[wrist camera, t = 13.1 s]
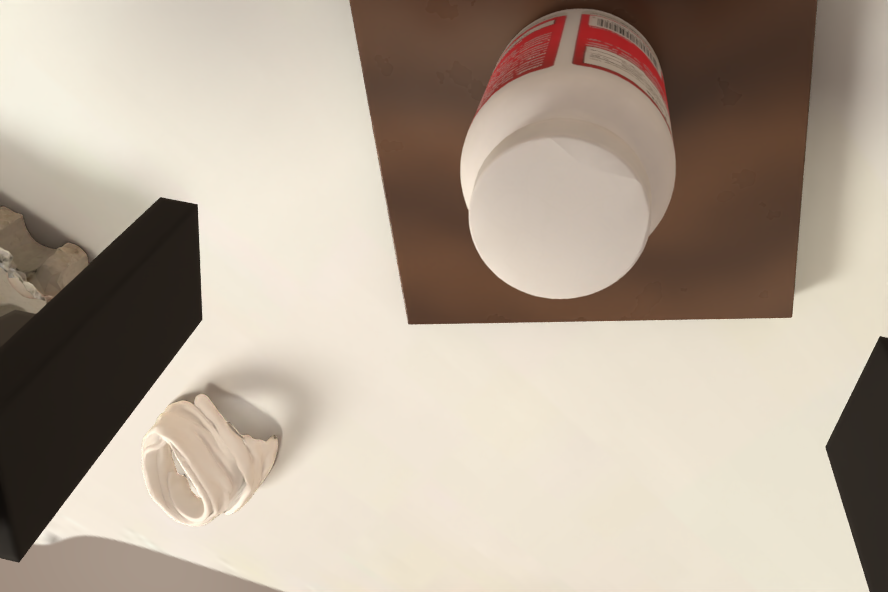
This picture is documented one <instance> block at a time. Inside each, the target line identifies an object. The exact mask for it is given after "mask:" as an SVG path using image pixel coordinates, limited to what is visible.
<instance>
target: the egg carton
mask: <svg viewBox="0 0 888 592" xmlns="http://www.w3.org/2000/svg"><path fill="white" fill-rule="evenodd" d="M88 265H89V262H88V256H87V255H86V253H85V252H84V251H83V250H82V249H81V248H80V247H79V246H77V245H75V244H72V243H66V244H64V246H62V247H58V249H52V248H49V247H46V246H43V245H41V244H39V243H38V242H36V241H35V240H34V239H33V238H32V236H31V235H30V233H29V232H28V231H27V228H26V225H25V222H24V219H23V216H22V214H19V213H15V212H13V211H12V210H10V209H9V208H7V207H5V206H1V207H0V317H1V316H3V315H5V314H7V313H9V312H11V311H13V310H20V311H24V312H29V313H34V314H37V313H38V312H39V311H40V310H41V309H42V308H43V307H44V306H45V305H46V304H47V303H48V302H49V301H50V300H51V299H53V298H54V297H55V296H56V295H57V294H58V293H59V292H60V291H61V290H62V289H63V288H64V287H65V286H66V285H67V284H69V283H70V282H71V281H72V280H73V279H74V278H75V277H76V276H77V275H78V274H79V273H80V272H81V271H82V270H83V269H85V268H86V267H87V266H88Z"/></svg>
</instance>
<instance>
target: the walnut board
mask: <svg viewBox="0 0 888 592" xmlns="http://www.w3.org/2000/svg"><path fill="white" fill-rule="evenodd" d="M350 6H351V11H352V17H353V22H354V28H355V33H356V39H357V44H358V50H359V55H360V61H361V66H362V72H363V77H364V83H365V88H366V94H367V99H368V105H369V110H370V116H371V121H372V127H373V132H374V138H375V143H376V149H377V154H378V160H379V165H380V171H381V176H382V182H383V187H384V193H385V198H386V204H387V210H388V215H389V221H390V226H391V232H392V237H393V243H394V248H395V254H396V259H397V265H398V270H399V276H400V281H401V287H402V292H403V298H404V303H405V309H406V314H407V320H408V324H461V323H518V322H574V321H631V320H688V319H744V318H791V317H792V313H793V300H794V288H795V275H796V263H797V250H798V237H799V225H800V212H801V200H802V187H803V175H804V162H805V150H806V137H807V125H808V112H809V100H810V87H811V75H812V62H813V50H814V37H815V25H816V12H817V0H350ZM567 9H594V10H599V11H603V12H606V13H609V14H612V15H614V16H617V17H619V18H621V19H623V20H624V21H626V22H627V23H629V24H630V25H632V26H633V27H634V28H635V29H637V30H638V31H639V32H640V33H641V34H642V35H643V36H644V37H645V39H646V40H647V41H648V43H649V44H650V46H651V47H652V49H653V50H654V52H655V54H656V56H657V58H658V61H659V64H660V67H661V70H662V73H663V78H664V84H665V90H666V96H667V103H668V109H669V114H670V122H671V130H672V137H673V142H674V148H675V159H676V175H675V183H674V189H673V193H672V196H671V200H670V203H669V205H668V207H667V210H666V212H665V214H664V216H663V218H662V220H661V221H660V223H659V224H658V225H657V227H656V228H655V229H654V231H653V232H652V233H651V234H650V235H649V237H648V240H647V243H646V245H645V248H644V250H643V252H642V253H641V255H640V257H639V258H638V260H637V261H636V263H635V264H634V265H633V267H632V268H631V269H630V270H629V271H628V272H627V273H626V274H625V275H624V276H623V277H621V278H620V279H619V280H618V281H616V282H615V283H613V284H612V285H610V286H608V287H607V288H605V289H603V290H600V291H598V292H595V293H593V294H590V295H586V296H582V297H577V298H570V299H550V298H544V297H538V296H534V295H531V294H527V293H525V292H523V291H520V290H518V289H516V288H514V287H512V286H510V285H509V284H507V283H506V282H504V281H503V280H502V279H500V278H499V277H498V276H496V275H495V274H494V273H493V272H492V270H491V269H490V268H489V267H488V266H487V265H486V264H485V262H484V261H483V260H482V258H481V257H480V255H479V253H478V251H477V249H476V247H475V245H474V242H473V239H472V236H471V232H470V227H469V210H468V208H467V205H466V202H465V199H464V196H463V191H462V186H461V177H460V164H461V155H462V149H463V146H464V142H465V139H466V135H467V132H468V130H469V127H470V125H471V123H472V120H473V118H474V116H475V114H476V111H477V109H478V106H479V104H480V102H481V99H482V97H483V95H484V92H485V90H486V88H487V85H488V83H489V81H490V78H491V76H492V73H493V71H494V69H495V67H496V64H497V62H498V60H499V59H500V57H501V55H502V53H503V52H504V50H505V49H506V47H507V46H508V44H509V43H510V42H511V41H512V39H513V38H514V37H515V36H516V35H517V34H518V33H519V32H520V31H521V30H522V29H524V28H525V27H526V26H528V25H529V24H531V23H532V22H534V21H535V20H537V19H539V18H541V17H543V16H546V15H548V14H551V13H554V12H557V11H561V10H567Z"/></svg>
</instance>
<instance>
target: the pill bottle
mask: <svg viewBox="0 0 888 592" xmlns="http://www.w3.org/2000/svg"><path fill="white" fill-rule="evenodd" d="M675 175H676V159H675V148H674V142H673V137H672V130H671V122H670V114H669V109H668V103H667V96H666V90H665V84H664V78H663V73H662V70H661V67H660V64H659V61H658V58H657V56H656V54H655V52H654V50H653V49H652V47H651V46H650V44H649V43H648V41H647V40H646V39H645V37H644V36H643V35H642V34H641V33H640V32H639V31H638V30H637V29H635V28H634V27H633V26H632V25H630V24H629V23H627V22H626V21H624V20H623V19H621V18H619V17H617V16H614V15H612V14H609V13H606V12H603V11H599V10H594V9H567V10H561V11H557V12H554V13H551V14H548V15H546V16H543V17H541V18H539V19H537V20H535V21H534V22H532V23H531V24H529V25H528V26H526V27H525V28H524V29H522V30H521V31H520V32H519V33H518V34H517V35H516V36H515V37H514V38H513V39H512V41H511V42H510V43H509V44H508V46H507V47H506V49H505V50H504V52H503V53H502V55H501V57H500V59H499V60H498V62H497V64H496V67H495V69H494V71H493V73H492V76H491V78H490V81H489V83H488V85H487V88H486V90H485V92H484V95H483V97H482V99H481V102H480V104H479V106H478V109H477V111H476V114H475V116H474V118H473V120H472V123H471V125H470V127H469V130H468V132H467V135H466V139H465V142H464V146H463V149H462V155H461V164H460V177H461V186H462V191H463V196H464V199H465V202H466V205H467V208H468V210H469V227H470V232H471V236H472V239H473V242H474V245H475V247H476V249H477V251H478V253H479V255H480V257H481V258H482V260H483V261H484V262H485V264H486V265H487V266H488V267H489V268H490V269H491V270H492V272H493V273H494V274H495V275H496V276H498V277H499V278H500V279H502V280H503V281H504V282H506V283H507V284H509V285H510V286H512V287H514V288H516V289H518V290H520V291H523V292H525V293H527V294H531V295H534V296H538V297H544V298H550V299H570V298H577V297H582V296H586V295H590V294H593V293H595V292H598V291H600V290H603V289H605V288H607V287H608V286H610V285H612V284H613V283H615V282H616V281H618V280H619V279H620V278H621V277H623V276H624V275H625V274H626V273H627V272H628V271H629V270H630V269H631V268H632V267H633V265H634V264H635V263H636V261H637V260H638V258H639V257H640V255H641V253H642V252H643V250H644V248H645V245H646V243H647V240H648V237H649V235H650V234H651V233H652V232H653V231H654V229H655V228H656V227H657V225H658V224H659V223H660V221H661V220H662V218H663V216H664V214H665V212H666V210H667V207H668V205H669V203H670V200H671V196H672V193H673V189H674V183H675Z"/></svg>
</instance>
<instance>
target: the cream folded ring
mask: <svg viewBox="0 0 888 592" xmlns="http://www.w3.org/2000/svg"><path fill="white" fill-rule="evenodd" d="M172 450H173V452H174V454H175V456H176V458H177V460H178V461H179V463H180V464H181V466H182V468H183V470H184V471H185V472H186V474H187V475H188V477H189V479H190V480H191V482H192V483H193V485H194V487H195V488H196V490H197V491H198V493H199V495H200V497H201V498H200V497H198V496H196V495H195V494H194V493H193V492H192V491H191V488H190V485H189V482H188V480H187V478H186V475H185V474H184V476H183V475H180V474H178V473H177V470H176V466H175V463H174V460H173V457H172ZM277 451H278V441H277V437H276V436H275V435H273V436H271V437H270V438H269V439H268V440H267V441H266V442H265V441H263V440H261V439H259V440H256V439H253V438H252V437H251V436H250V435H248V434H246V435H241V434H240V433H239V432H238V431H237V430H236V429H235V427H234V426H233V425H232V424H231V423H230V422H226V421H225V419H224V418H223V416H222V415H221V414H220V413H219V411H218V410H217V409H216V407H215V406H214V404H213V403H212V402H211V400H210V399H209V398H208V396H207V395H204V394H199V395H198V396H197V397H196V398H195V402H194V404H192V403H191V402H188V401H178V402H176V403H172V404H170V405H169V406H168V407H167V408H166V409H165V411H164V413H161V414H160V415H159V417H158V418H157V420H156V422H155V425H154V426H153V427H152V428H151V429H150V430H149V431H148V432H147V434H146V435H145V437H144V439H143V441H142V470H143V475H144V479H145V483H146V487H147V490H148V492H149V494H150V496H151V497H152V499H153V500H154V501H155V502H156V503H157V504H158V505H159V506H160V507H161V508H162V509H163V510H164V511H165V513H166V514H167V515H168V516H169V517H171V518H172V519H173V520H175V521H177V522H179V523H181V524H185V525H187V526H202V525H205V524H208V523H209V522H211V521H212V520H213V519H214V518H216V517H217V516H219V515H220V514H221V513H223V512H224V514H226V515H228V514H233V513H235V512H237V511H238V510H240V509H241V508H242V507H243V506H244V505H245V504H246V503H247V502H248V501H249V500H250V498H251V497H252V496H253V495H254V493H255V491H256V490H257V489H258V488H259V487H260V485H261V484H262V482H263V481H264V480H265V479H266V477H267V475H268V474H269V472H270V470H271V469H272V467H273V465H274V461H275V457H276V455H277Z"/></svg>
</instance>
